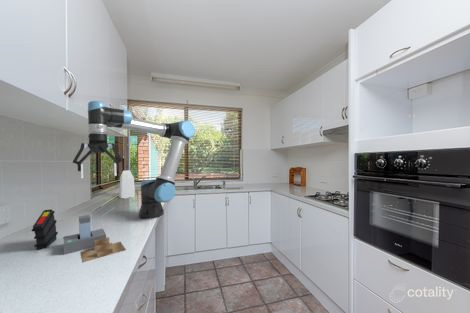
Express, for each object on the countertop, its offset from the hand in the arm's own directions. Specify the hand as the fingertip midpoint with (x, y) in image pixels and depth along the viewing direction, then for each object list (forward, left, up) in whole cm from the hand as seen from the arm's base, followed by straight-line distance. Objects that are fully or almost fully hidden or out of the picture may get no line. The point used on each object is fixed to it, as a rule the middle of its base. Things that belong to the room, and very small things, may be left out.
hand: (99, 177), depth 101 cm
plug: (+7, +12, -28) cm, 31 cm away
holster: (+2, +24, -29) cm, 37 cm away
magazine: (+20, -3, -29) cm, 35 cm away
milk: (-34, -102, -29) cm, 111 cm away
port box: (+7, +12, -29) cm, 32 cm away
